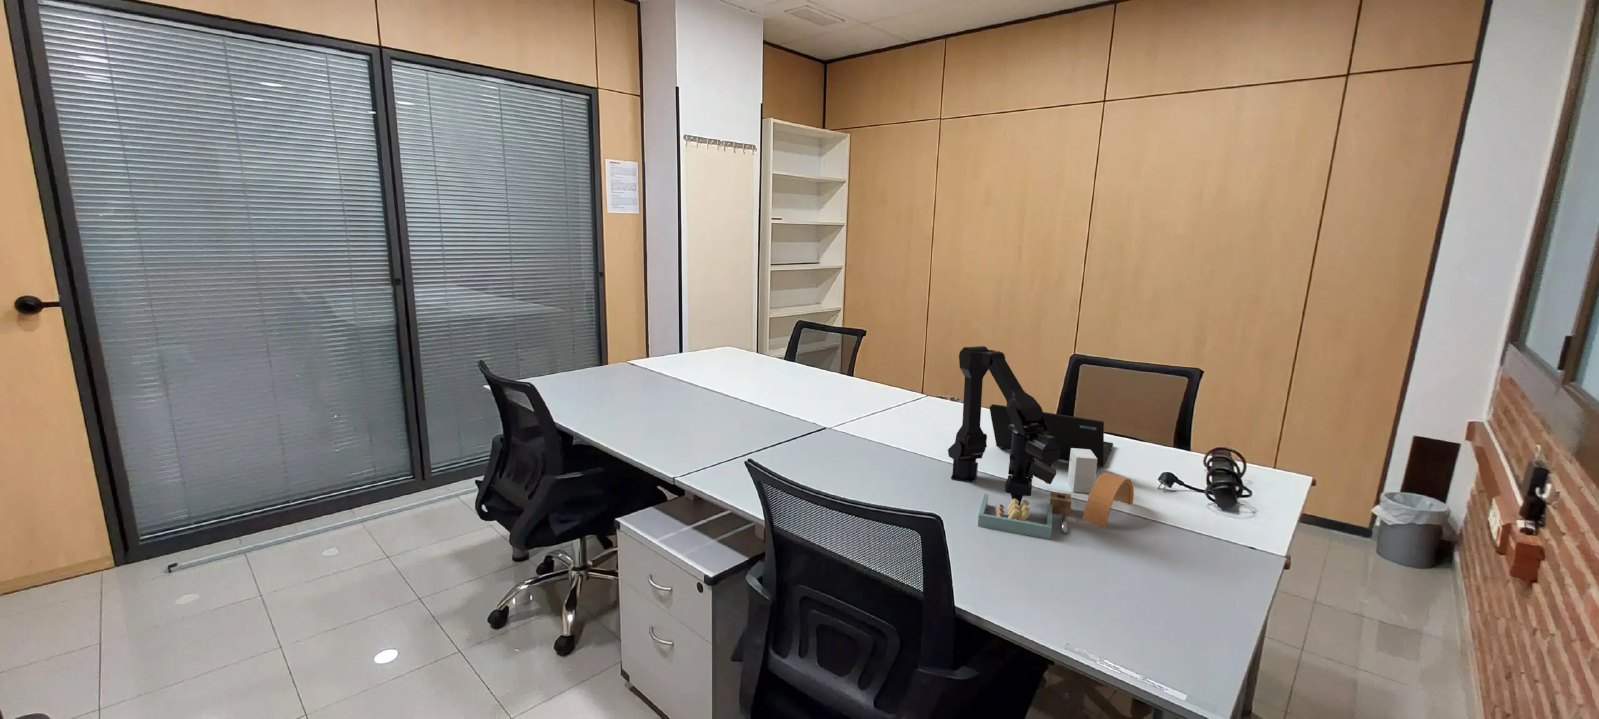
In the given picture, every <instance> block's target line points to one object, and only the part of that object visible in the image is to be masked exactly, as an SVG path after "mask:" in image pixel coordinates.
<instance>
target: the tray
mask: <svg viewBox="0 0 1599 719" xmlns="http://www.w3.org/2000/svg"><path fill="white" fill-rule="evenodd" d="M988 502H989V494H988V493H984V494H983V497H982V502H981V506H980V508H979V513H978V518H977V526H978V527H981V528H987V529H993V530H998V531H1004V532H1009V533H1013V534H1015V533H1016V534H1021V535H1027V536H1031V537H1037V538H1043V539H1047V540H1052V530H1053V513H1052V505H1050V503H1048V504H1047V513H1046V524H1042V523H1037V522H1031V521H1027V520H1026V521H1021V520H1016V519H1009V518H1008V517H1005V516H1004V517H1005V518H1004V517H998V516H996V515H992V514H986V512H987V510H988V508H987V507H988Z"/></svg>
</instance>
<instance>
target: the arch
mask: <svg viewBox="0 0 1599 719" xmlns="http://www.w3.org/2000/svg"><path fill="white" fill-rule="evenodd" d="M1134 496H1135V495H1134V484H1133V481H1132V480H1131V479H1130V478H1126V477H1123V476H1119V475H1116V474H1114V473H1113V474H1112V473H1109V472H1103V473H1101V474H1100V475H1099V476H1098V477H1097V479H1095V483H1094V485H1093V487H1092V489H1091V491H1090V493H1088V497H1087V499H1086V503H1085V505H1084V506H1085V507H1084V511H1083V517H1082V521H1083V522H1086V523H1088V524H1092V525H1095V526H1098V527H1100V528H1101V527H1102V528H1104V529H1106V528H1107V524H1108V519H1109V515H1110V511H1111V508H1112V505H1113V502H1114V501H1116V502H1119V501H1120V503H1123V504H1126V503H1127V504H1126V505H1130V506H1132V505H1133V504H1134Z"/></svg>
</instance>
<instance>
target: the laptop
mask: <svg viewBox="0 0 1599 719" xmlns="http://www.w3.org/2000/svg"><path fill="white" fill-rule="evenodd" d="M1006 407H1007V405H1001V404H994V403H993V404H991V405H990V406H989V412H990V418H991V424H992V429H993V434H994V440H995V446H996V447H997V448H999V449H1001V450H1009V451H1011V442H1012V430H1010V429H1008V428H1007V426H1008V425H1010V424H1012V422H1011V420H1010V418H1009V415H1008V413H1007V411H1006ZM1043 414H1044V417H1045V419H1046V422H1047V424H1048V428H1049V431H1050V432H1049V433H1045V434H1047V435H1049V436H1053V437H1055V442H1056V443H1057V444H1058V445H1059V446H1060V450H1061V454H1060V457H1059V459H1058V460H1061V461H1066V462H1069V461H1070V451H1071V448H1078V449H1090V450H1091V451H1092V452H1093V454H1094V455H1095V456H1096V458H1097V459H1098V460H1097V468H1104V467H1105V464H1107V460H1108V458H1109V455H1110V454H1111V452H1112V449H1113V447H1114V443H1113V442H1111V441H1110V442H1109V441H1105V439H1104V436H1105V435H1104V434H1105V431H1104V430H1105V426H1104V425H1105V423H1104V421H1103V420H1096V419H1092V418H1091V419H1090V418H1085V417H1078V416H1073V415H1072V416H1071V415H1066V414H1065V415H1064V414H1059V413H1052V412H1047V411H1046V412H1045V411H1043ZM1034 426H1039V425H1038V424H1036V425H1028V426H1026V427H1034Z"/></svg>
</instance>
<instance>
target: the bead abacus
mask: <svg viewBox="0 0 1599 719" xmlns="http://www.w3.org/2000/svg"><path fill="white" fill-rule="evenodd" d="M1018 503H1019V501H1018V500H1017V499H1015V498H1014V499H1013V500H1012V499H1011V502H1010V503H1009V505H1008V506H1007V510H1008V512H1007V514H1008V517H1007V518H1009V519H1015V520H1021V521H1026V522H1027V520H1028V518H1029V517H1030V515H1031V514H1032V513H1031V511H1030V509H1031V507H1030V506H1029V505H1030V501H1028V500H1027V499H1022V501H1021V503H1020V506H1019V505H1018ZM1004 509H1005V506H1004V505H1003V504H1001V503H999V504H998V505H997V507H996V509H995V514H996V515H995V516H998V517H1004V518H1006V517H1005V515H1004V513H1005V510H1004Z"/></svg>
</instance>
